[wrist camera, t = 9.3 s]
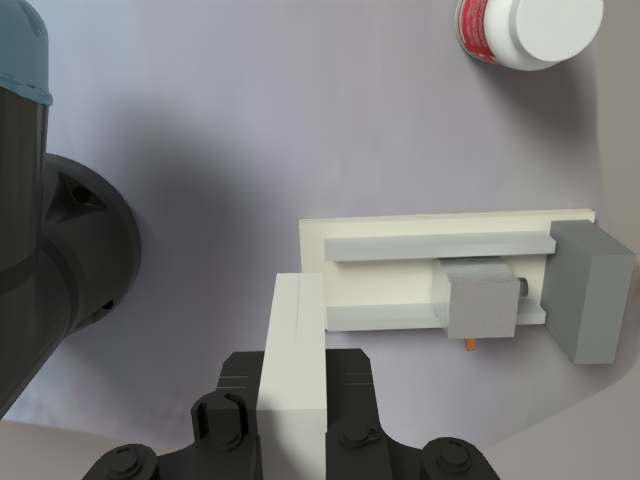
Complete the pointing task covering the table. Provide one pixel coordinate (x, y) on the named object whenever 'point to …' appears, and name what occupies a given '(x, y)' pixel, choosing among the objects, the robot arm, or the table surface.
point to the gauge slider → (476, 297)
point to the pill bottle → (526, 30)
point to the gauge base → (474, 240)
